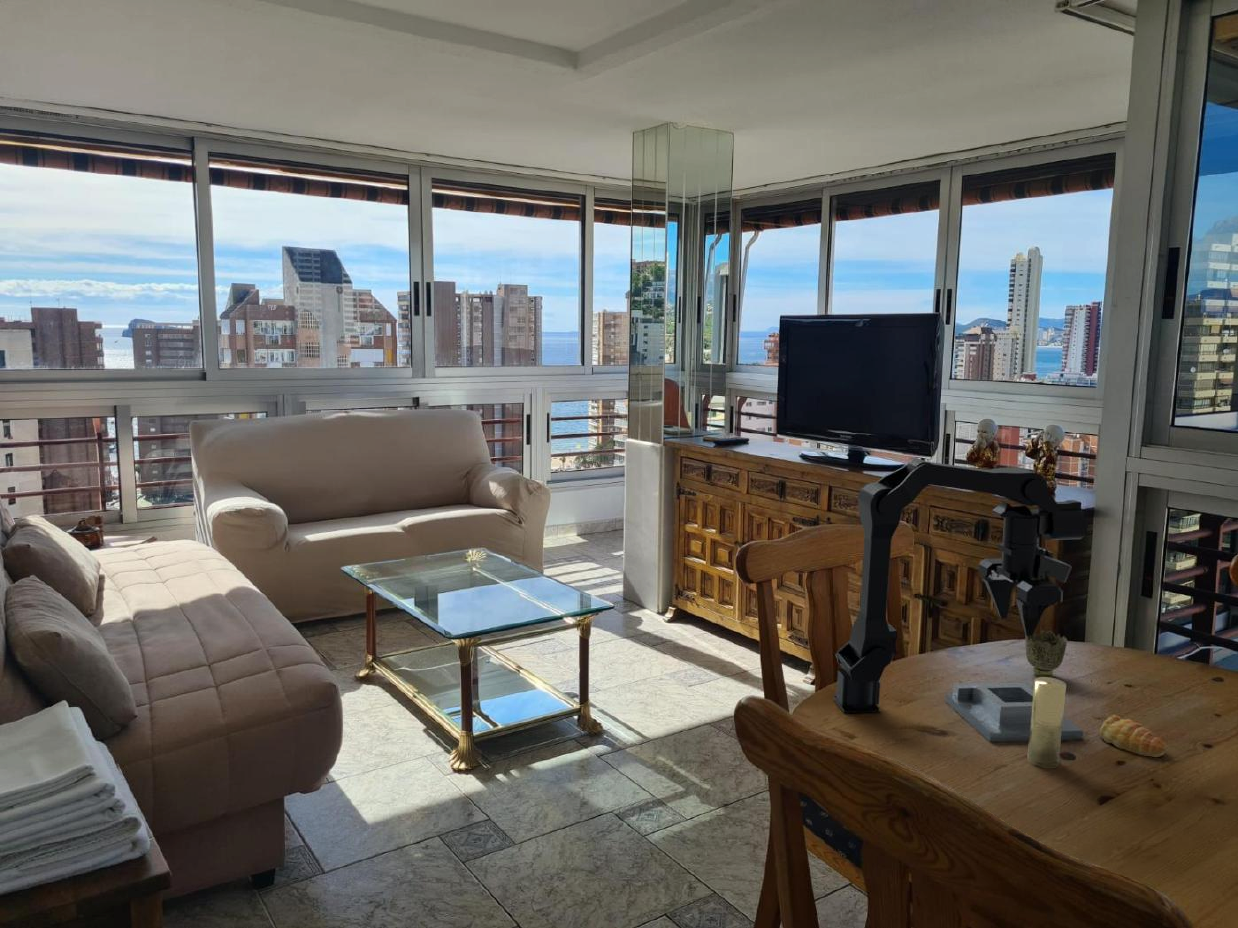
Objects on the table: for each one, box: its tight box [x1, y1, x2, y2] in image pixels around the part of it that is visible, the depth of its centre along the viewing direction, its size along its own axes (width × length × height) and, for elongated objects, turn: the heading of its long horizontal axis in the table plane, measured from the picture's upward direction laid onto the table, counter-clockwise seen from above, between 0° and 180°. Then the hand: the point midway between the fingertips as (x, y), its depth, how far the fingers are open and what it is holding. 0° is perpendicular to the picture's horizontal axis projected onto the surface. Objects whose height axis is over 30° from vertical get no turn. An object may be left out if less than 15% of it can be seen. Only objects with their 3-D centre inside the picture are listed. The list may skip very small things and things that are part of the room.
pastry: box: [1099, 714, 1168, 758], centre depth 147 cm, size 9×7×4 cm
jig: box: [944, 681, 1084, 743], centre depth 156 cm, size 16×16×4 cm
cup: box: [1024, 630, 1068, 678], centre depth 176 cm, size 8×7×8 cm
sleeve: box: [1026, 676, 1067, 770], centre depth 140 cm, size 4×4×13 cm
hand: (1015, 626), depth 160 cm, fingers open, 9 cm apart
